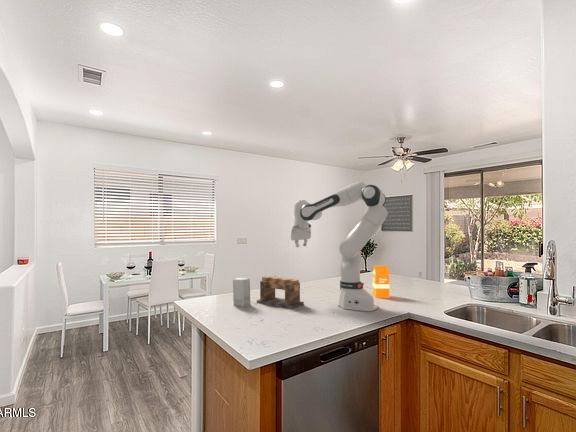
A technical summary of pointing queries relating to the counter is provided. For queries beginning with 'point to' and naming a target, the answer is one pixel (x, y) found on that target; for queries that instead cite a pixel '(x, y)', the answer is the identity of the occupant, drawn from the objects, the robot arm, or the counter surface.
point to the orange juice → (380, 282)
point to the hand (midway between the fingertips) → (301, 246)
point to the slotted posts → (269, 298)
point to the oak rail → (281, 282)
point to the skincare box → (241, 291)
